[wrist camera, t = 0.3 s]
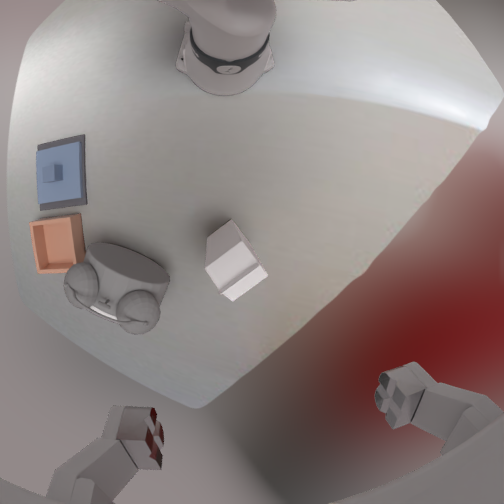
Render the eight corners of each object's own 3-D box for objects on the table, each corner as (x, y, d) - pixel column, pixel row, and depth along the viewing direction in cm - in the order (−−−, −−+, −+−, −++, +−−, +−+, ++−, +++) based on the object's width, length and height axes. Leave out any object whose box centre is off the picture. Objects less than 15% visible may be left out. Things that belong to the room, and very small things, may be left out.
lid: (39, 151, 44) (27, 150, 39) (81, 142, 45) (71, 139, 41) (41, 203, 47) (29, 206, 42) (83, 197, 48) (73, 199, 44)
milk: (206, 237, 54) (202, 276, 33) (232, 218, 54) (244, 245, 33) (225, 261, 56) (233, 312, 35) (251, 243, 56) (273, 284, 35)
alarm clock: (94, 267, 52) (42, 314, 31) (106, 229, 51) (51, 261, 30) (164, 299, 56) (143, 364, 35) (179, 263, 55) (162, 315, 34)
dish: (41, 218, 48) (29, 222, 43) (80, 213, 49) (70, 217, 45) (48, 266, 51) (37, 273, 46) (87, 264, 52) (78, 272, 47)
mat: (39, 145, 44) (37, 145, 43) (85, 134, 45) (83, 134, 45) (41, 210, 48) (40, 210, 47) (87, 204, 49) (86, 204, 49)
